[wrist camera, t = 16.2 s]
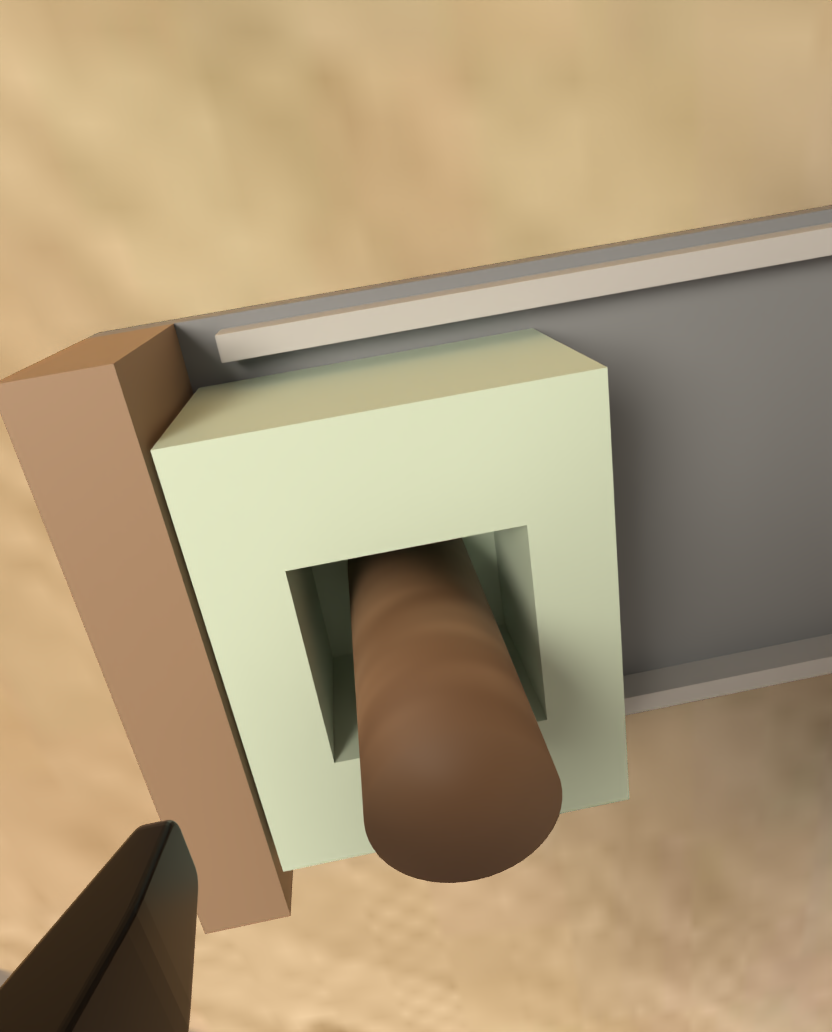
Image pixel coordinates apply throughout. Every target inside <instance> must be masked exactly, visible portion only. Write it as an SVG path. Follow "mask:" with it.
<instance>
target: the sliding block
mask: <svg viewBox="0 0 832 1032" xmlns="http://www.w3.org/2000/svg"><path fill="white" fill-rule="evenodd" d="M150 451H151V454H152V457H153V461H154V464H155V467H156V470H157V473H158V476H159V480H160V483H161V486H162V489H163V492H164V495H165V499H166V502H167V505H168V508H169V511H170V514H171V518H172V521H173V524H174V527H175V530H176V533H177V537H178V540H179V543H180V546H181V549H182V552H183V556H184V559H185V562H186V565H187V568H188V571H189V575H190V578H191V581H192V584H193V587H194V590H195V594H196V597H197V600H198V603H199V606H200V609H201V613H202V616H203V619H204V622H205V625H206V628H207V632H208V635H209V638H210V641H211V644H212V647H213V651H214V654H215V657H216V660H217V663H218V666H219V670H220V673H221V676H222V679H223V682H224V686H225V689H226V692H227V695H228V698H229V701H230V705H231V708H232V711H233V714H234V717H235V720H236V724H237V727H238V730H239V733H240V736H241V739H242V743H243V746H244V749H245V752H246V755H247V758H248V762H249V765H250V768H251V771H252V774H253V777H254V781H255V784H256V787H257V790H258V793H259V796H260V800H261V803H262V806H263V809H264V812H265V815H266V819H267V822H268V825H269V828H270V831H271V834H272V838H273V841H274V844H275V847H276V850H277V853H278V857H279V860H280V863H281V866H282V869H283V872H285V871H290V870H294V869H299V868H304V867H309V866H313V865H318V864H323V863H328V862H332V861H337V860H342V859H347V858H352V857H356V856H361V855H366V854H371V853H375V850H374V849H373V847H372V846H371V844H370V842H369V840H368V837H367V835H366V832H365V826H364V818H363V803H362V787H361V771H360V755H359V740H358V724H357V708H356V692H355V677H354V661H353V645H352V629H351V614H350V598H349V582H348V559H352V558H357V557H362V556H367V555H372V554H378V553H383V552H388V551H393V550H399V549H404V548H409V547H414V546H420V545H425V544H430V543H435V542H441V541H446V540H451V539H456V538H462V540H463V542H464V544H465V547H466V549H467V552H468V554H469V557H470V559H471V562H472V564H473V567H474V569H475V571H476V574H477V576H478V579H479V581H480V584H481V586H482V589H483V591H484V593H485V596H486V598H487V601H488V603H489V606H490V608H491V611H492V613H493V615H494V618H495V620H496V623H497V625H498V628H499V630H500V633H501V635H502V638H503V640H504V642H505V645H506V647H507V650H508V652H509V655H510V657H511V660H512V662H513V664H514V667H515V669H516V672H517V674H518V677H519V679H520V682H521V684H522V686H523V689H524V691H525V694H526V696H527V699H528V701H529V704H530V706H531V709H532V711H533V713H534V716H535V718H536V721H537V723H538V726H539V728H540V731H541V733H542V735H543V738H544V740H545V743H546V745H547V748H548V750H549V753H550V755H551V758H552V760H553V762H554V765H555V767H556V770H557V772H558V775H559V777H560V780H561V786H562V805H561V810H560V813H559V814H561V813H566V812H571V811H576V810H580V809H585V808H590V807H595V806H600V805H604V804H609V803H614V802H619V801H623V800H628V799H629V782H628V762H627V743H626V723H625V703H624V684H623V664H622V644H621V625H620V605H619V585H618V566H617V546H616V526H615V506H614V487H613V467H612V447H611V428H610V408H609V388H608V369H607V367H606V366H604V365H602V364H600V363H598V362H596V361H594V360H592V359H591V358H589V357H587V356H585V355H583V354H581V353H579V352H577V351H575V350H573V349H571V348H569V347H568V346H566V345H564V344H562V343H560V342H558V341H556V340H554V339H552V338H550V337H548V336H546V335H545V334H543V333H541V332H539V331H537V330H535V329H533V328H531V329H525V330H520V331H514V332H509V333H503V334H497V335H492V336H486V337H481V338H475V339H469V340H464V341H458V342H453V343H447V344H441V345H436V346H430V347H425V348H419V349H413V350H408V351H402V352H397V353H391V354H385V355H380V356H374V357H369V358H363V359H357V360H352V361H346V362H341V363H335V364H329V365H324V366H318V367H313V368H307V369H301V370H296V371H290V372H285V373H279V374H273V375H268V376H262V377H257V378H251V379H245V380H240V381H234V382H228V383H223V384H217V385H212V386H206V387H200V388H198V389H197V391H196V392H195V393H194V395H193V396H192V397H191V398H190V400H189V401H188V402H187V404H186V405H185V406H184V408H183V409H182V410H181V411H180V413H179V414H178V415H177V417H176V418H175V419H174V420H173V422H172V423H171V424H170V426H169V427H168V428H167V429H166V431H165V432H164V433H163V435H162V436H161V437H160V439H159V440H158V441H157V442H156V444H155V445H154V446H153V448H152V449H151V450H150Z"/></svg>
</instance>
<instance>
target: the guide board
mask: <svg viewBox="0 0 832 1032" xmlns="http://www.w3.org/2000/svg"><path fill="white" fill-rule="evenodd" d="M531 328H533V329H535V330H537V331H539V332H541V333H543V334H545V335H546V336H548V337H550V338H552V339H554V340H556V341H558V342H560V343H562V344H564V345H566V346H568V347H569V348H571V349H573V350H575V351H577V352H579V353H581V354H583V355H585V356H587V357H589V358H591V359H592V360H594V361H596V362H598V363H600V364H602V365H604V366H606V367H607V369H608V388H609V408H610V428H611V447H612V467H613V487H614V506H615V526H616V546H617V566H618V585H619V605H620V625H621V644H622V664H623V684H624V703H625V715H630V714H635V713H640V712H645V711H650V710H655V709H660V708H665V707H669V706H674V705H679V704H684V703H689V702H694V701H699V700H704V699H709V698H714V697H718V696H723V695H728V694H733V693H738V692H743V691H748V690H753V689H758V688H762V687H767V686H772V685H777V684H782V683H787V682H792V681H797V680H802V679H807V678H811V677H816V676H821V675H826V674H831V673H832V205H829V206H824V207H818V208H812V209H806V210H801V211H795V212H789V213H783V214H778V215H772V216H766V217H760V218H755V219H749V220H743V221H737V222H732V223H726V224H720V225H714V226H709V227H703V228H697V229H691V230H686V231H680V232H674V233H668V234H663V235H657V236H651V237H645V238H640V239H634V240H628V241H622V242H617V243H611V244H605V245H599V246H594V247H588V248H582V249H576V250H571V251H565V252H559V253H553V254H548V255H542V256H536V257H530V258H525V259H519V260H513V261H507V262H502V263H496V264H490V265H484V266H479V267H473V268H467V269H461V270H456V271H450V272H444V273H438V274H433V275H427V276H421V277H415V278H410V279H404V280H398V281H392V282H387V283H381V284H375V285H369V286H364V287H358V288H352V289H346V290H341V291H335V292H329V293H323V294H318V295H312V296H306V297H300V298H295V299H289V300H283V301H277V302H272V303H266V304H260V305H254V306H249V307H243V308H237V309H231V310H226V311H220V312H214V313H208V314H203V315H197V316H191V317H185V318H180V319H174V320H168V321H162V322H157V323H151V324H145V325H139V326H134V327H128V328H122V329H116V330H111V331H105V332H99V333H96V334H94V335H92V336H90V337H88V338H86V339H84V340H82V341H80V342H78V343H76V344H74V345H72V346H70V347H68V348H66V349H64V350H61V351H59V352H57V353H55V354H53V355H51V356H49V357H47V358H45V359H43V360H41V361H39V362H37V363H35V364H33V365H31V366H29V367H26V368H24V369H22V370H20V371H18V372H16V373H14V374H12V375H10V376H8V377H6V378H4V379H2V380H0V414H1V416H2V419H3V421H4V424H5V426H6V429H7V431H8V434H9V436H10V439H11V442H12V444H13V447H14V449H15V452H16V454H17V457H18V459H19V462H20V464H21V467H22V470H23V472H24V475H25V477H26V480H27V482H28V485H29V487H30V490H31V492H32V495H33V497H34V500H35V503H36V505H37V508H38V510H39V513H40V515H41V518H42V520H43V523H44V525H45V528H46V531H47V533H48V536H49V538H50V541H51V543H52V546H53V548H54V551H55V553H56V556H57V559H58V561H59V564H60V566H61V569H62V571H63V574H64V576H65V579H66V581H67V584H68V586H69V589H70V592H71V594H72V597H73V599H74V602H75V604H76V607H77V609H78V612H79V614H80V617H81V620H82V622H83V625H84V627H85V630H86V632H87V635H88V637H89V640H90V642H91V645H92V648H93V650H94V653H95V655H96V658H97V660H98V663H99V665H100V668H101V670H102V673H103V676H104V678H105V681H106V683H107V686H108V688H109V691H110V693H111V696H112V698H113V701H114V703H115V706H116V709H117V711H118V714H119V716H120V719H121V721H122V724H123V726H124V729H125V731H126V734H127V737H128V739H129V742H130V744H131V747H132V749H133V752H134V754H135V757H136V759H137V762H138V765H139V767H140V770H141V772H142V775H143V777H144V780H145V782H146V785H147V787H148V790H149V792H150V795H151V798H152V800H153V803H154V805H155V808H156V810H157V813H158V815H159V818H160V820H161V821H165V820H173V821H175V822H176V823H177V824H178V825H179V827H180V829H181V831H182V834H183V837H184V839H185V842H186V844H187V847H188V849H189V852H190V854H191V857H192V859H193V862H194V864H195V867H196V871H197V876H198V903H197V915H198V917H199V920H200V922H201V925H202V927H203V930H204V932H205V934H207V933H212V932H217V931H222V930H226V929H231V928H236V927H240V926H245V925H250V924H255V923H259V922H264V921H269V920H273V919H278V918H283V917H287V916H290V915H291V897H292V878H293V870H290V871H285V872H283V869H282V866H281V863H280V860H279V857H278V853H277V850H276V847H275V844H274V841H273V838H272V834H271V831H270V828H269V825H268V822H267V819H266V815H265V812H264V809H263V806H262V803H261V800H260V796H259V793H258V790H257V787H256V784H255V781H254V777H253V774H252V771H251V768H250V765H249V762H248V758H247V755H246V752H245V749H244V746H243V743H242V739H241V736H240V733H239V730H238V727H237V724H236V720H235V717H234V714H233V711H232V708H231V705H230V701H229V698H228V695H227V692H226V689H225V686H224V682H223V679H222V676H221V673H220V670H219V666H218V663H217V660H216V657H215V654H214V651H213V647H212V644H211V641H210V638H209V635H208V632H207V628H206V625H205V622H204V619H203V616H202V613H201V609H200V606H199V603H198V600H197V597H196V594H195V590H194V587H193V584H192V581H191V578H190V575H189V571H188V568H187V565H186V562H185V559H184V556H183V552H182V549H181V546H180V543H179V540H178V537H177V533H176V530H175V527H174V524H173V521H172V518H171V514H170V511H169V508H168V505H167V502H166V499H165V495H164V492H163V489H162V486H161V483H160V480H159V476H158V473H157V470H156V467H155V464H154V461H153V457H152V454H151V451H150V450H151V449H152V448H153V446H154V445H155V444H156V442H157V441H158V440H159V439H160V437H161V436H162V435H163V433H164V432H165V431H166V429H167V428H168V427H169V426H170V424H171V423H172V422H173V420H174V419H175V418H176V417H177V415H178V414H179V413H180V411H181V410H182V409H183V408H184V406H185V405H186V404H187V402H188V401H189V400H190V398H191V397H192V396H193V395H194V393H195V392H196V391H197V389H198V388H200V387H206V386H212V385H217V384H223V383H228V382H234V381H240V380H245V379H251V378H257V377H262V376H268V375H273V374H279V373H285V372H290V371H296V370H301V369H307V368H313V367H318V366H324V365H329V364H335V363H341V362H346V361H352V360H357V359H363V358H369V357H374V356H380V355H385V354H391V353H397V352H402V351H408V350H413V349H419V348H425V347H430V346H436V345H441V344H447V343H453V342H458V341H464V340H469V339H475V338H481V337H486V336H492V335H497V334H503V333H509V332H514V331H520V330H525V329H531Z"/></svg>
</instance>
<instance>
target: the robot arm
mask: <svg viewBox="0 0 832 1032" xmlns="http://www.w3.org/2000/svg"><path fill="white" fill-rule="evenodd" d="M197 903H198V876H197V871H196V867H195V864H194V862H193V859H192V857H191V854H190V852H189V849H188V847H187V844H186V842H185V839H184V837H183V834H182V831H181V829H180V827H179V825H178V824H177V823H176V822H175V821H173V820H165V821H160V822H155V823H150V824H145V825H142V826H140V827H138V828H137V829H136V830H135V831H134V832H133V833H132V834H131V835H130V836H129V838H128V839H127V840H126V841H125V842H124V843H123V845H122V846H121V847H120V848H119V849H118V850H117V852H116V853H115V854H114V855H113V856H112V857H111V859H110V860H109V861H108V862H107V863H106V864H105V866H104V867H103V868H102V869H101V870H100V871H99V873H98V874H97V875H96V876H95V877H94V878H93V880H92V881H91V882H90V883H89V884H88V886H87V887H86V888H85V889H84V890H83V891H82V893H81V894H80V895H79V896H78V897H77V898H76V900H75V901H74V902H73V903H72V904H71V905H70V907H69V908H68V909H67V910H66V911H65V912H64V914H63V915H62V916H61V917H60V918H59V919H58V921H57V922H56V923H55V924H54V925H53V926H52V928H51V929H50V930H49V931H48V932H47V933H46V935H45V936H44V937H43V938H42V939H41V940H40V942H39V943H38V944H37V945H36V946H35V947H34V949H33V950H32V951H31V952H30V953H29V954H28V956H27V957H26V958H25V959H24V960H23V961H22V963H21V964H20V965H19V966H18V967H17V968H16V970H15V971H14V972H13V973H12V974H11V975H10V977H9V978H8V979H7V980H6V981H5V982H4V984H3V985H2V986H1V987H0V1032H188V1031H189V1021H190V1009H191V995H192V980H193V964H194V949H195V934H196V918H197Z"/></svg>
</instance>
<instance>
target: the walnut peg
mask: <svg viewBox="0 0 832 1032" xmlns="http://www.w3.org/2000/svg"><path fill="white" fill-rule="evenodd" d="M348 582H349V598H350V614H351V629H352V645H353V661H354V677H355V692H356V708H357V724H358V740H359V755H360V771H361V787H362V803H363V818H364V826H365V832H366V835H367V837H368V840H369V842H370V844H371V846H372V847H373V849H374V850H375V852H376V853H377V854H378V855H379V857H380V858H381V859H383V860H384V861H385V862H386V863H387V864H388V865H390V866H391V867H393V868H394V869H396V870H398V871H400V872H402V873H404V874H406V875H408V876H411V877H414V878H417V879H421V880H426V881H432V882H440V883H456V882H466V881H472V880H478V879H481V878H485V877H489V876H492V875H494V874H497V873H500V872H502V871H504V870H506V869H508V868H510V867H512V866H514V865H516V864H517V863H519V862H521V861H522V860H524V859H525V858H526V857H528V856H529V855H530V854H532V853H533V852H534V851H535V850H536V849H537V848H538V847H539V846H540V845H541V844H542V843H543V842H544V840H545V839H546V838H547V837H548V835H549V834H550V832H551V831H552V829H553V828H554V826H555V824H556V821H557V819H558V817H559V813H560V810H561V805H562V786H561V780H560V777H559V775H558V772H557V770H556V767H555V765H554V762H553V760H552V758H551V755H550V753H549V750H548V748H547V745H546V743H545V740H544V738H543V735H542V733H541V731H540V728H539V726H538V723H537V721H536V718H535V716H534V713H533V711H532V709H531V706H530V704H529V701H528V699H527V696H526V694H525V691H524V689H523V686H522V684H521V682H520V679H519V677H518V674H517V672H516V669H515V667H514V664H513V662H512V660H511V657H510V655H509V652H508V650H507V647H506V645H505V642H504V640H503V638H502V635H501V633H500V630H499V628H498V625H497V623H496V620H495V618H494V615H493V613H492V611H491V608H490V606H489V603H488V601H487V598H486V596H485V593H484V591H483V589H482V586H481V584H480V581H479V579H478V576H477V574H476V571H475V569H474V567H473V564H472V562H471V559H470V557H469V554H468V552H467V549H466V547H465V544H464V542H463V540H462V538H456V539H451V540H446V541H441V542H435V543H430V544H425V545H420V546H414V547H409V548H404V549H399V550H393V551H388V552H383V553H378V554H372V555H367V556H362V557H357V558H352V559H348Z"/></svg>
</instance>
